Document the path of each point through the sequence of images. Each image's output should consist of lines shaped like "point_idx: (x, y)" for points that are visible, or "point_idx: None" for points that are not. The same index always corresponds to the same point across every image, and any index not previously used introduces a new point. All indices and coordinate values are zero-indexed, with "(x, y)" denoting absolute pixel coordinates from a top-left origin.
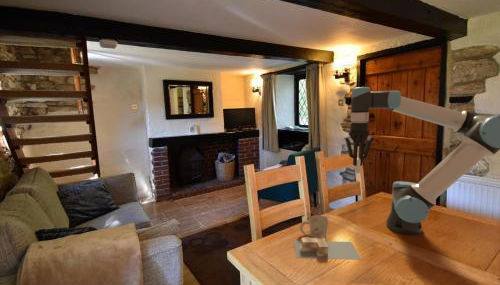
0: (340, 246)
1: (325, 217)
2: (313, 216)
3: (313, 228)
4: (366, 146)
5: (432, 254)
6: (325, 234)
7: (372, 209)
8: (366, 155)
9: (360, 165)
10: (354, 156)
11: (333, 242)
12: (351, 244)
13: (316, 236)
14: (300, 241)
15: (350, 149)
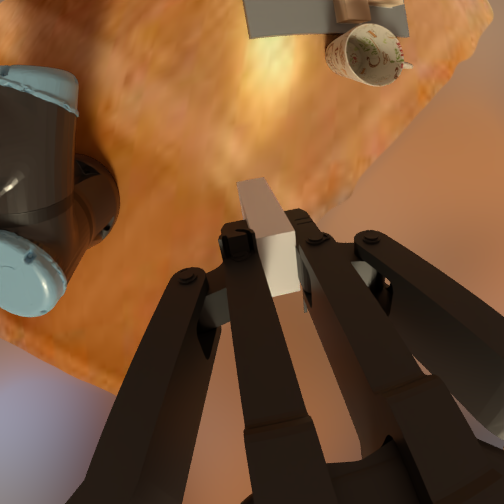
0: (287, 8)
1: (352, 70)
2: (389, 80)
3: (379, 37)
4: (178, 421)
5: (40, 63)
6: (334, 41)
7: (153, 304)
8: (178, 287)
9: (238, 222)
10: (338, 251)
11: (306, 28)
12: (252, 23)
13: (366, 8)
14: (393, 31)
15: (444, 291)
